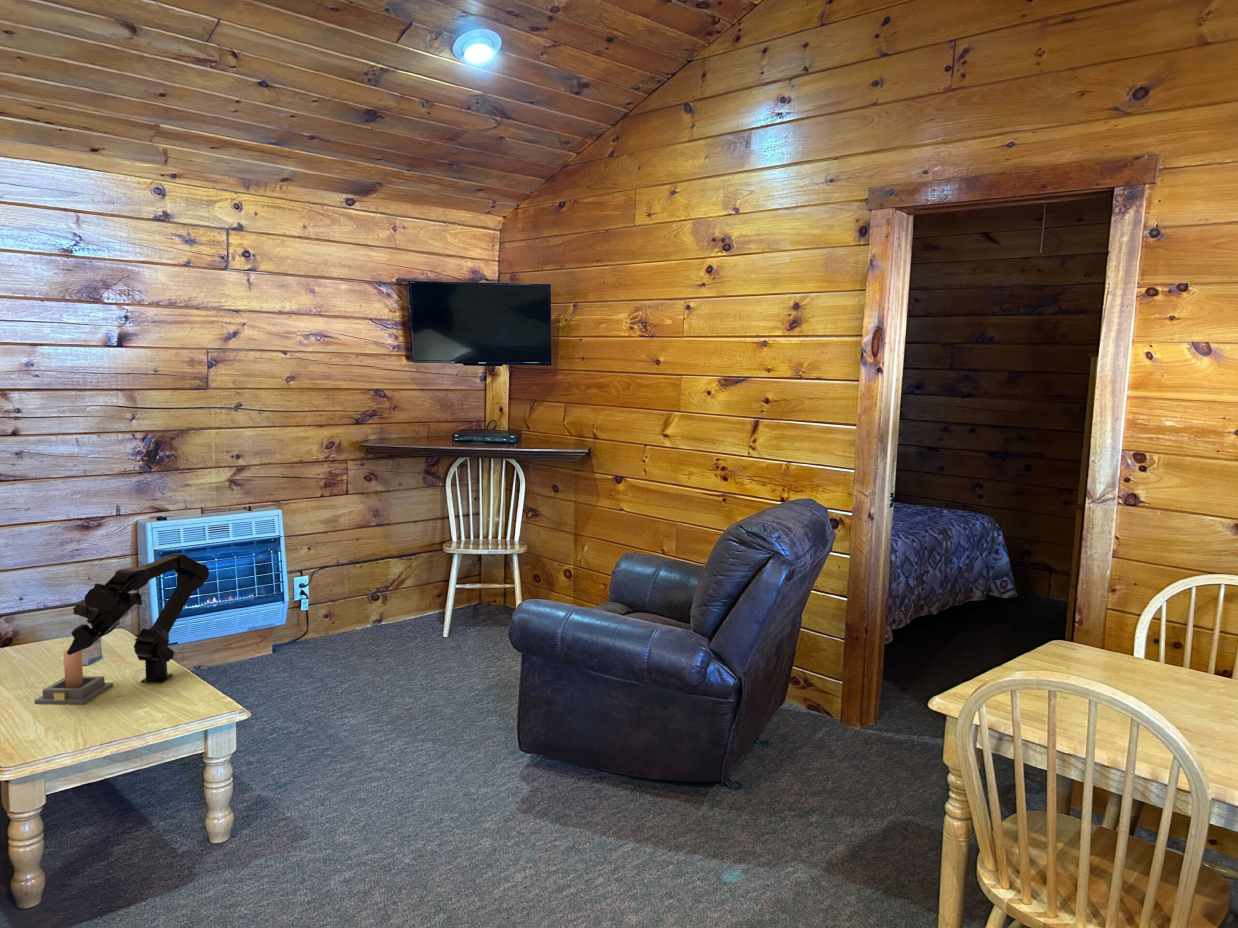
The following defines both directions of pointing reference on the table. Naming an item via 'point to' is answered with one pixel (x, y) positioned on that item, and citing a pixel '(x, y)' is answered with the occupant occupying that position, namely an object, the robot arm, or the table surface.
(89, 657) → the medicine box
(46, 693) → the gray square tray
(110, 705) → the table surface
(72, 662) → the terracotta peg
